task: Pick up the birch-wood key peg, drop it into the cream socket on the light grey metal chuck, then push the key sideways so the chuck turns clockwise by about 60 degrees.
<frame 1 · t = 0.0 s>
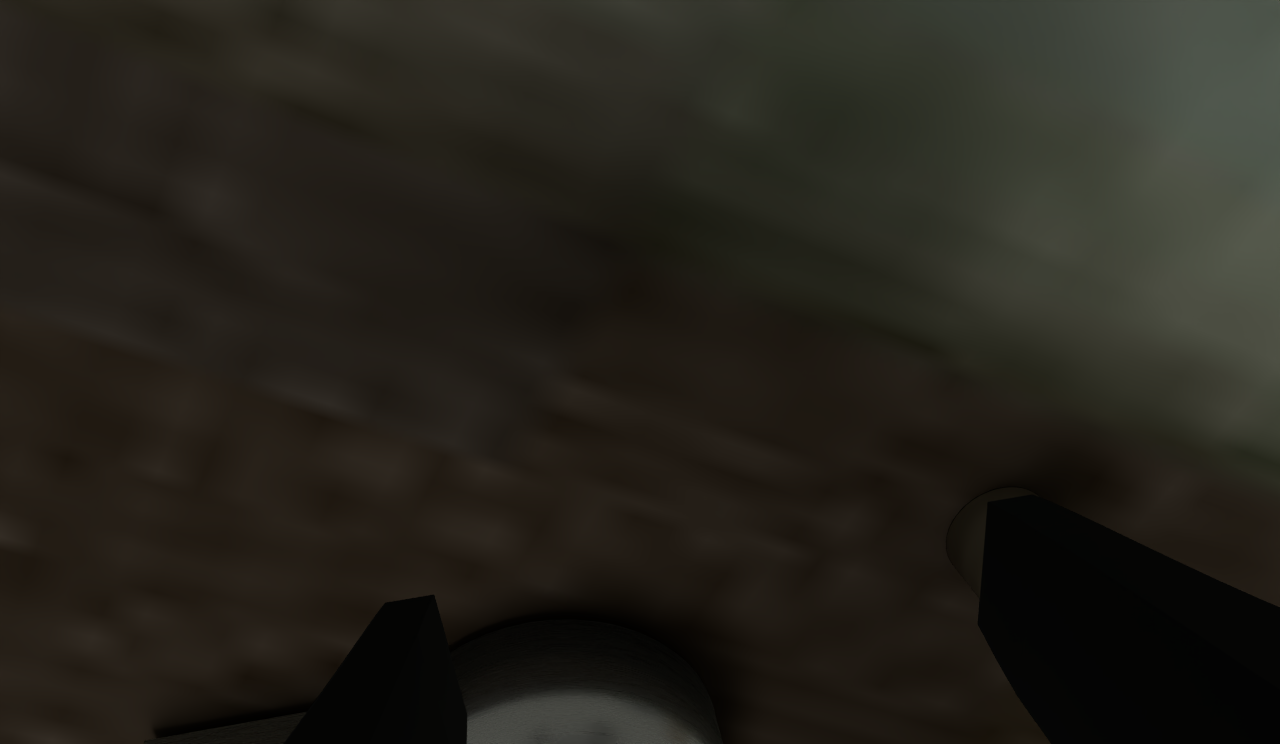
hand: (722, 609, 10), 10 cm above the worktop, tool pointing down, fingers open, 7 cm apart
key peg: (997, 533, 23), on the worktop
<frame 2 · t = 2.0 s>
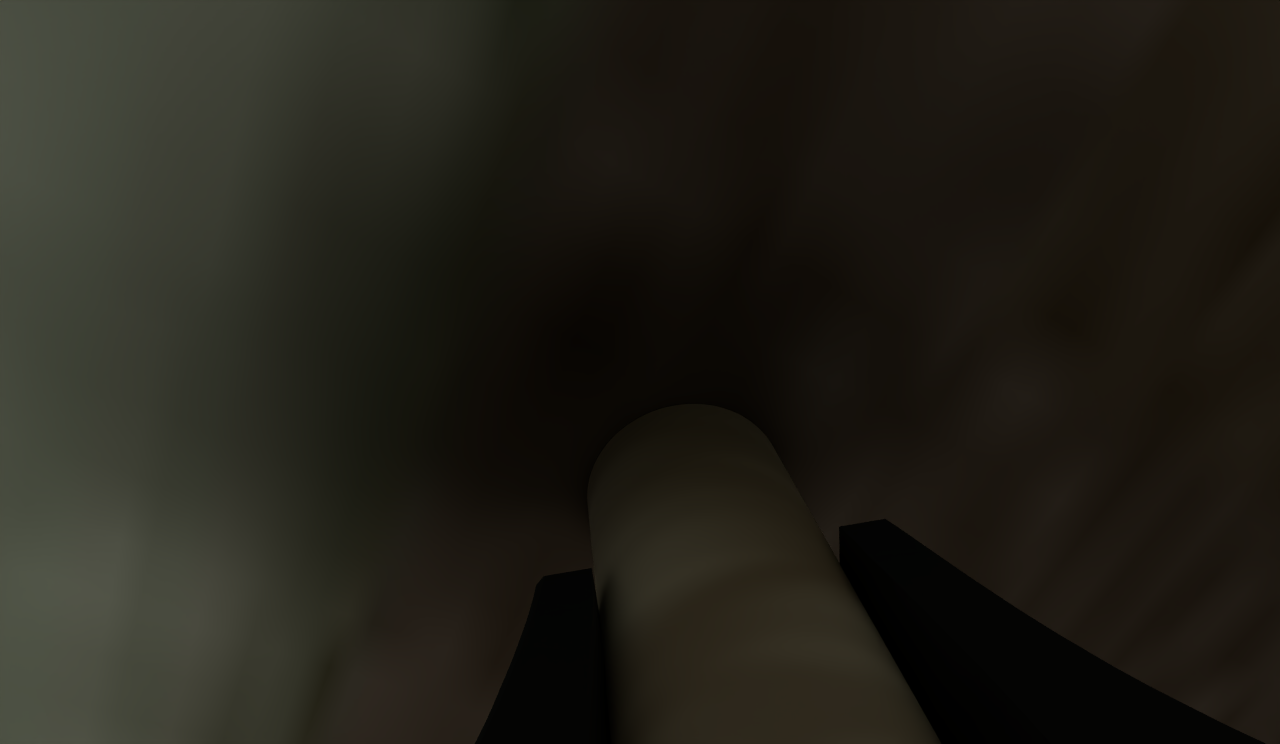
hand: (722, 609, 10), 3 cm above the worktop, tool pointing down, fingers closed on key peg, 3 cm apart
key peg: (685, 492, 13), on the worktop, touching gripper
when the fingers open (5 cm above the worktop, at t = 5.7 s): key peg drops 1 cm, resting on chuck.
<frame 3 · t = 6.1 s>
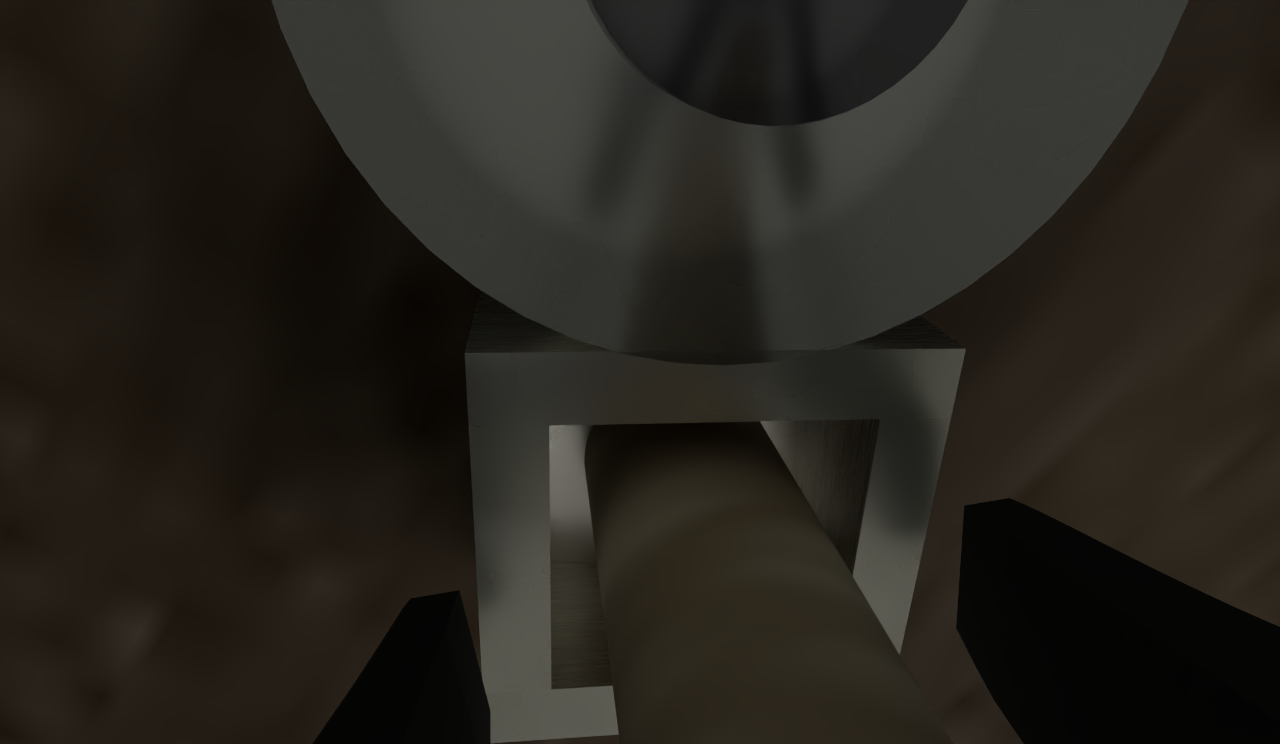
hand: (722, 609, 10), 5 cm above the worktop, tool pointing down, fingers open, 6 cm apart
chuck: (711, 191, 10), point 3 cm above the worktop, hinge at 0.0°, touching key peg
key peg: (675, 457, 14), point 1 cm above the worktop, touching chuck
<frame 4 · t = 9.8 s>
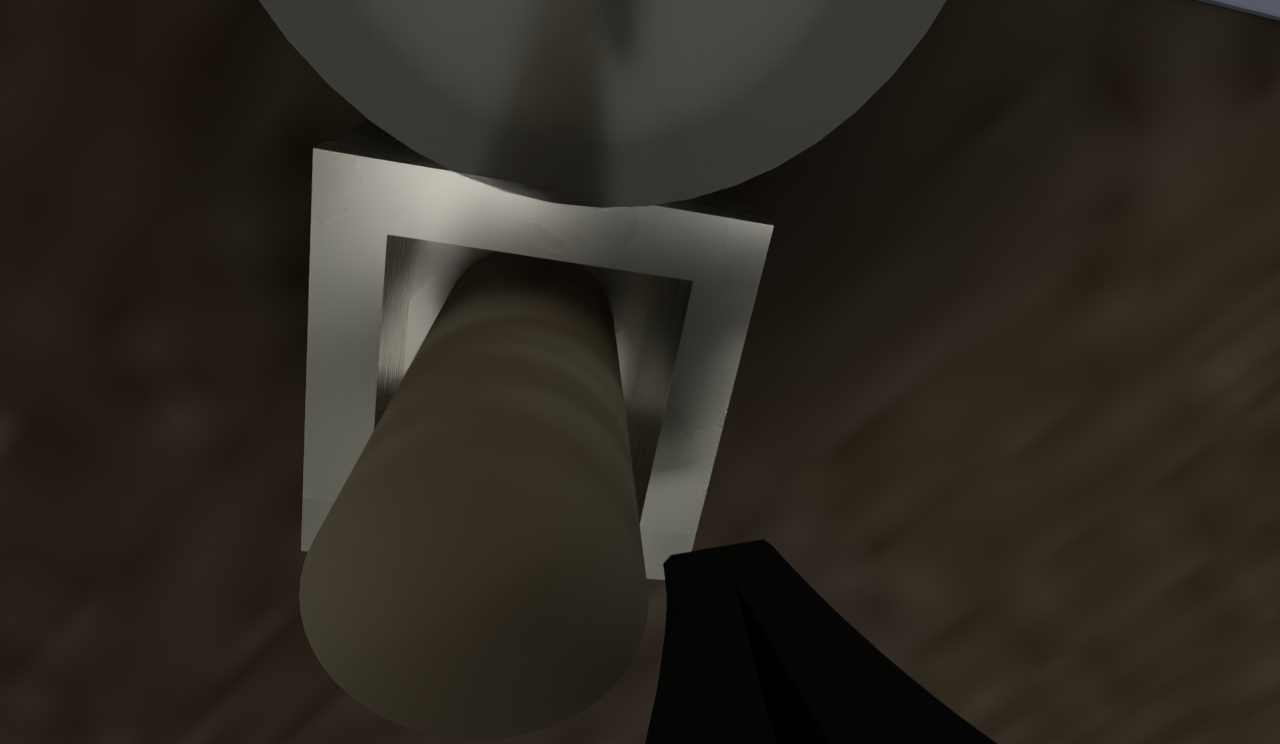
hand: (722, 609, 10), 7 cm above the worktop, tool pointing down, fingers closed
chuck: (570, 56, 12), point 3 cm above the worktop, hinge at 0.0°, touching key peg
key peg: (529, 331, 15), point 1 cm above the worktop, touching chuck, gripper
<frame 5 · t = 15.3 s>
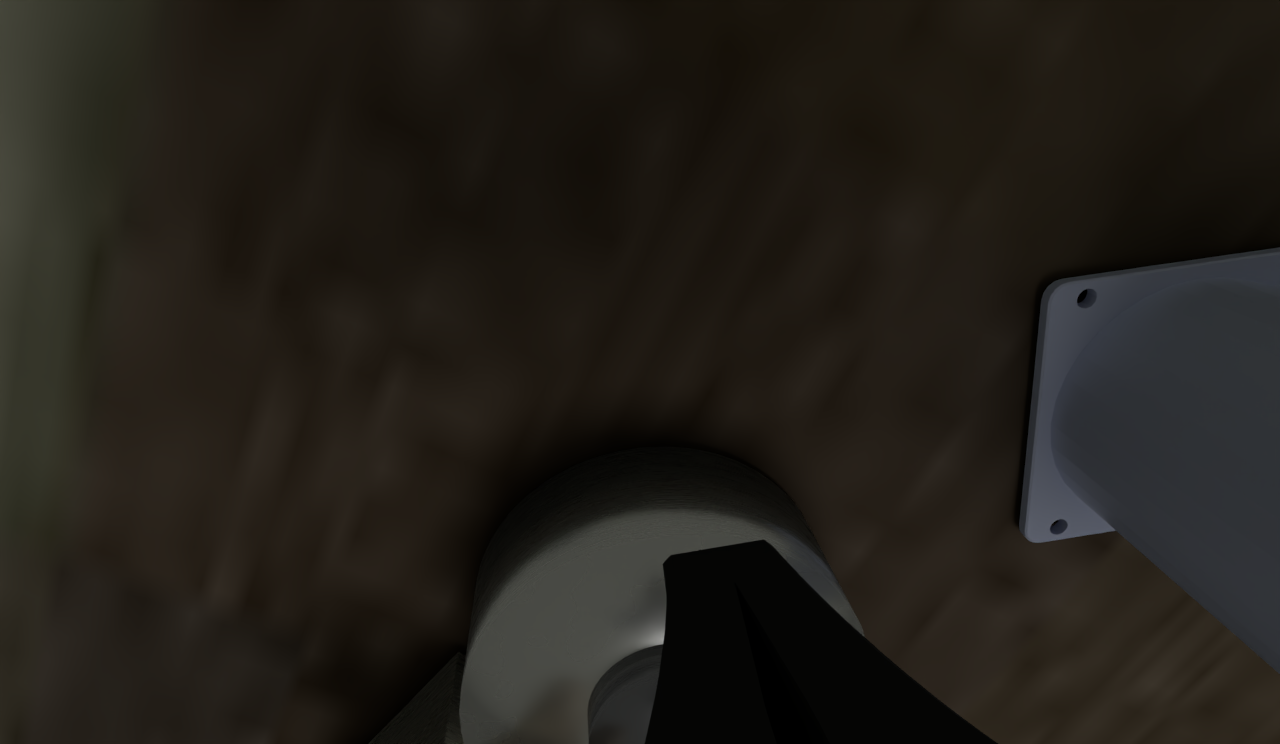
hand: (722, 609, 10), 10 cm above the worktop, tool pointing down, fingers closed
chuck: (584, 734, 21), point 3 cm above the worktop, hinge at 48.7°, touching key peg
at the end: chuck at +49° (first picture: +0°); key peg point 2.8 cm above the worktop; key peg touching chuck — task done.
